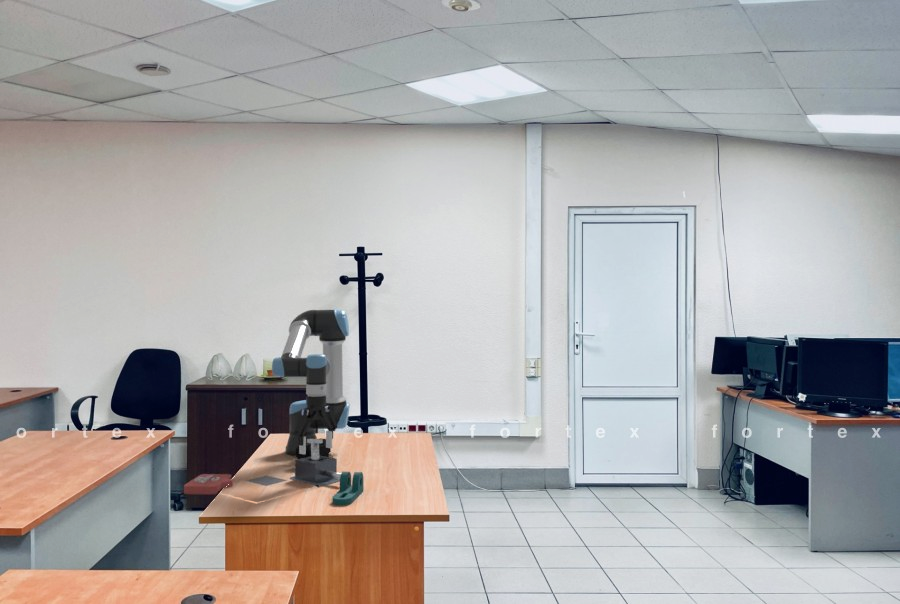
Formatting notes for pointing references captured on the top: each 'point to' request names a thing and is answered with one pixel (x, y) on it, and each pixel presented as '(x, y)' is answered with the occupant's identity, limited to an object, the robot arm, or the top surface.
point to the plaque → (208, 484)
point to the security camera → (322, 450)
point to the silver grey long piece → (314, 448)
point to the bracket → (348, 488)
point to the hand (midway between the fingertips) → (316, 450)
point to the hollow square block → (316, 471)
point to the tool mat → (266, 480)
